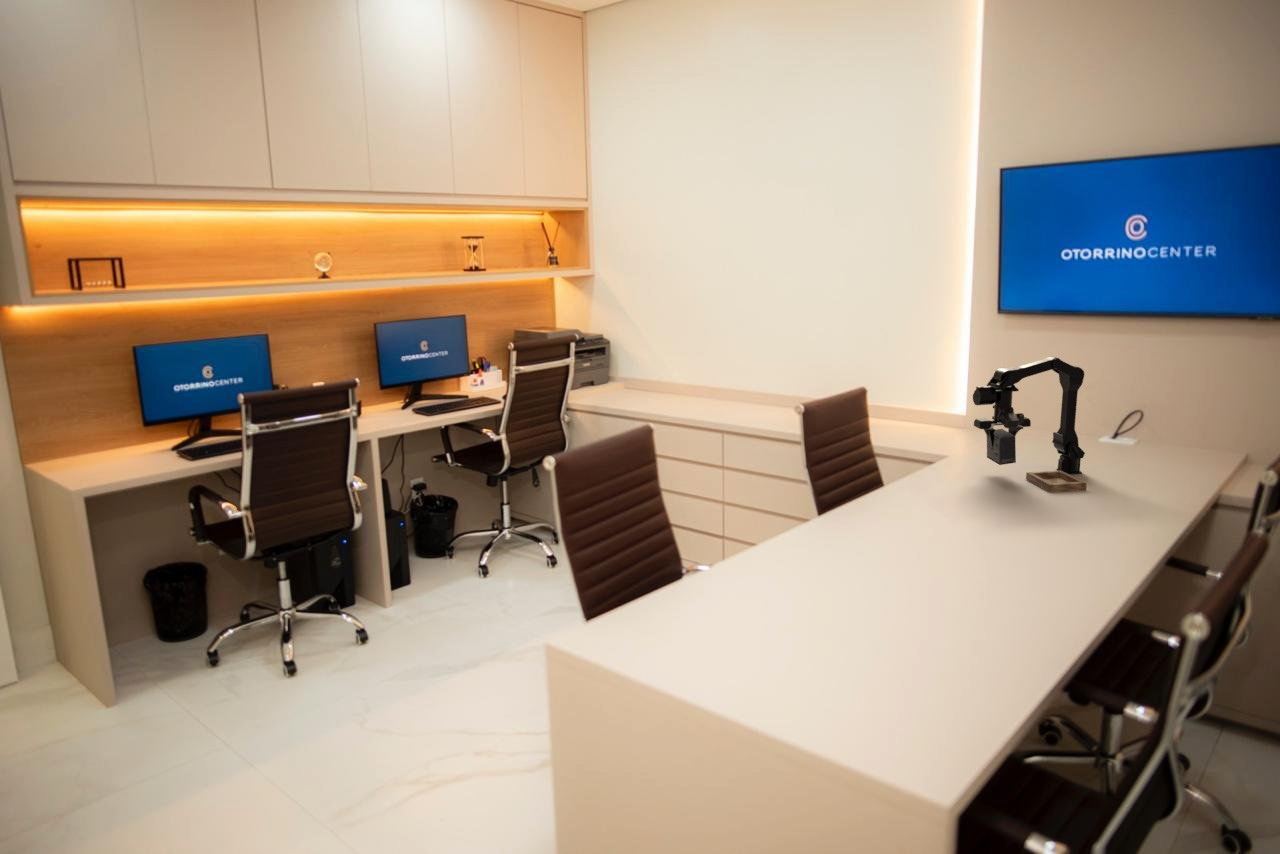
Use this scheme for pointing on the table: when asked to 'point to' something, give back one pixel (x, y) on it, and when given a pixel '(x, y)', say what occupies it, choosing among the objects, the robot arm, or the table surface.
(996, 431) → the small box
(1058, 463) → the robot arm
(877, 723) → the table surface
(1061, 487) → the walnut holder
